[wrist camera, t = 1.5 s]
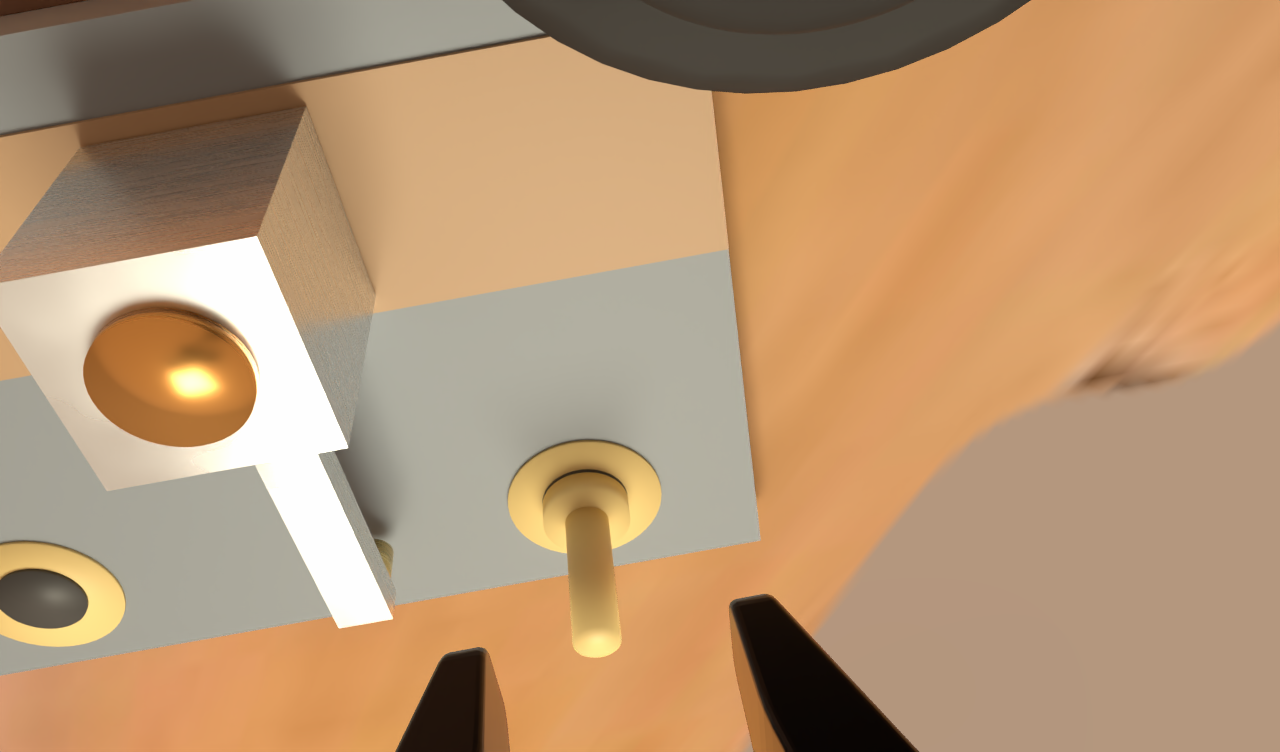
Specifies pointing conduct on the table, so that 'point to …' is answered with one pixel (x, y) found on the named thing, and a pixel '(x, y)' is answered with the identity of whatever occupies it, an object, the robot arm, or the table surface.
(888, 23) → the coffee cup
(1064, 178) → the table surface
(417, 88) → the jig plate
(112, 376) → the white block with bar
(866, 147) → the table surface
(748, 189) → the table surface
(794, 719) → the robot arm
